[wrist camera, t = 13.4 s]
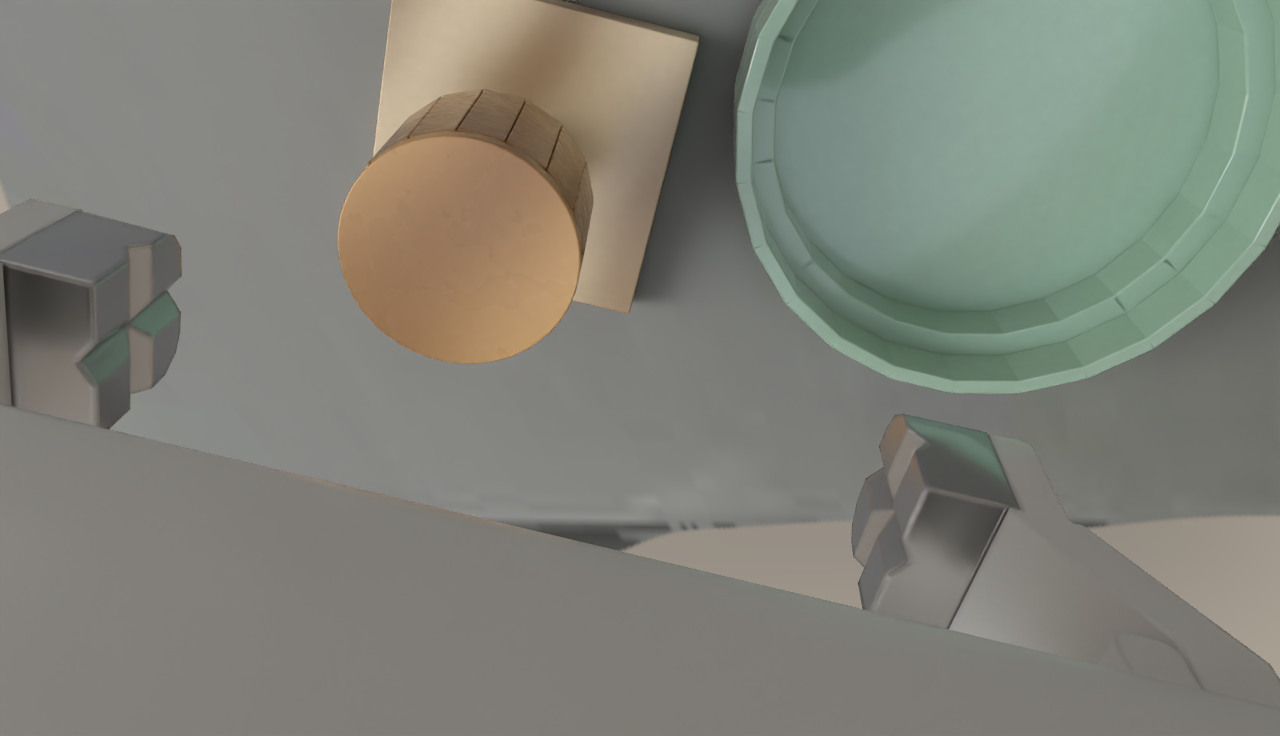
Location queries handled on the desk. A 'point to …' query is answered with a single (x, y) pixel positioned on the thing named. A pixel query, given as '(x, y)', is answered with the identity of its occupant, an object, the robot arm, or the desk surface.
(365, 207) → the wood cap
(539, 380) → the desk surface
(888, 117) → the bowl
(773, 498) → the desk surface
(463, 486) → the desk surface
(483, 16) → the ball stand
